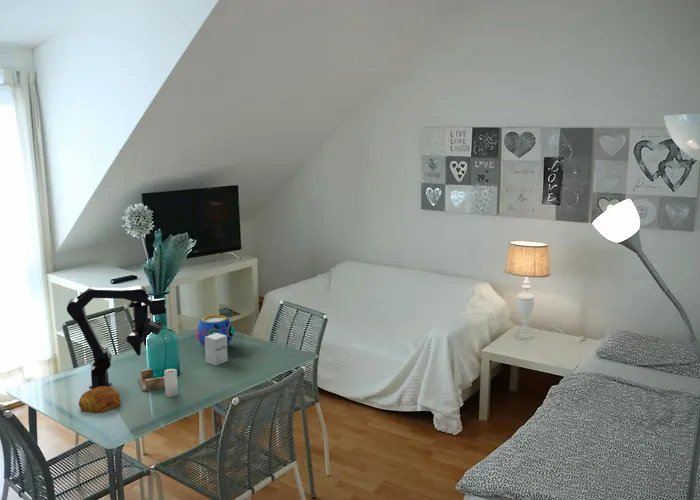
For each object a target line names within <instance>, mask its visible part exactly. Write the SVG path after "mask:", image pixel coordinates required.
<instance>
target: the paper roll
mask: <svg viewBox="0 0 700 500" xmlns="http://www.w3.org/2000/svg"><path fill="white" fill-rule="evenodd" d="M164 380H165V388H164V394H165V396H166V397H168V398H173V397H176V396H178V395H179V388H178V387H179V385H178V370H177V369H175V368H167V370H165V371H164Z"/></svg>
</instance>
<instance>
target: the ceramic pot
mask: <svg viewBox="0 0 700 500" xmlns="http://www.w3.org/2000/svg"><path fill="white" fill-rule="evenodd" d="M215 333H219V334H223V335H226V336H227V346H228V345H230V343H231V341H232V340H233V336H234V335H235V328H234V326H233V324H232V322H231V321H230V319H229V318H228V317H227V316H224V315H220V314H219V315H216V314H214V315H209V316H205V317H203V318H201V320H200V321H199V323H198V326H197V328H196V338H197V341H198V342H199V343H200V345H201V346H202V347H203V348H205V337H206V336H209V335H212V334H215Z"/></svg>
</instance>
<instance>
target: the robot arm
mask: <svg viewBox="0 0 700 500" xmlns="http://www.w3.org/2000/svg"><path fill="white" fill-rule="evenodd" d="M93 299H111V300H112V299H113V300H114V299H116V300H117V299H120V300H122V299H123V300H126V301H129V303H128V308H132V309H133V319H132V321H131V323H133V325H134V328H133V329H132V332H131V333H130V334H128V335H127V336H126V339H125V340H126V342H127V343H128V344H129V345H130V346H131V347H132V349H133V350H134V352H135V354H136V355H137V356H141V353H142V344H144V346H145V348H146V337H147V335H149V334H150V333H151V332H152V334H154V335H159V334H160V333H161V332H162V329H163V327H164V324H163V320H162V319H157V320H153V321H152V320H151V317H150V316H149V314H150V315H152V316H160V315H162V316H163V315H167V306H166V299H165V298H164V297H163V298H155V299H152V297H151V296H150V295H149V294H148V293H147V289H146V287H144V286H143V285H133V286H129V287H124V288H123V287H94V286H90V287H88V288H87V289H86V290H85V291H84V292H81V293H80V294H79V295H78V296H77V297H74V298H71V299H70V300H69V301H68V303H67V306H66V312H67V313H68V315H69V316H70V317H71V319H73V320H74V321H75V322H76V323H77V325H78V326H79V329H80V331H81V333H82V334H83V337H84V338H85V340H86V342H87V344H88V346H89V348H90V351H91V352H92V356H93V360H94V362H93V363H92V364H91V370H90V377H91V385H89V386H88V388H89V389H94V388H96V387H101V386H108V387H110V385H112V382H110V381H109V373H108V370H109V369H110V367H111V363H112V356H113V355H112V354H111V352H110V350H109V347H105V348H104V347H103V346H102V344H101V342H100V340H99V338H98V337H97V334H96V333H95V330H94V329H93V327H92V325H91V323H90V321H89V318H88V317H87V312H86V308H85V307H86V306H87V305H88V304H89V303H90V302H91V301H92V300H93ZM148 307H149V308H148ZM148 309H149V310H148ZM154 321H155V322H154ZM158 321H160V322H159V323H157V322H158ZM160 331H161V332H160Z"/></svg>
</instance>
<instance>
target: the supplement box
mask: <svg viewBox="0 0 700 500" xmlns="http://www.w3.org/2000/svg"><path fill="white" fill-rule="evenodd" d="M204 349H205V352H204V354H205V363H206V364H210V365H213V366H215V367H216V366H218V365H221V364H224V363H226V362H228V361H229V359H228V358H229V357H228V345H227V336H226V335H223V334H219V333H215V334H212V335H209V336H206V337H205V347H204Z"/></svg>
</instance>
